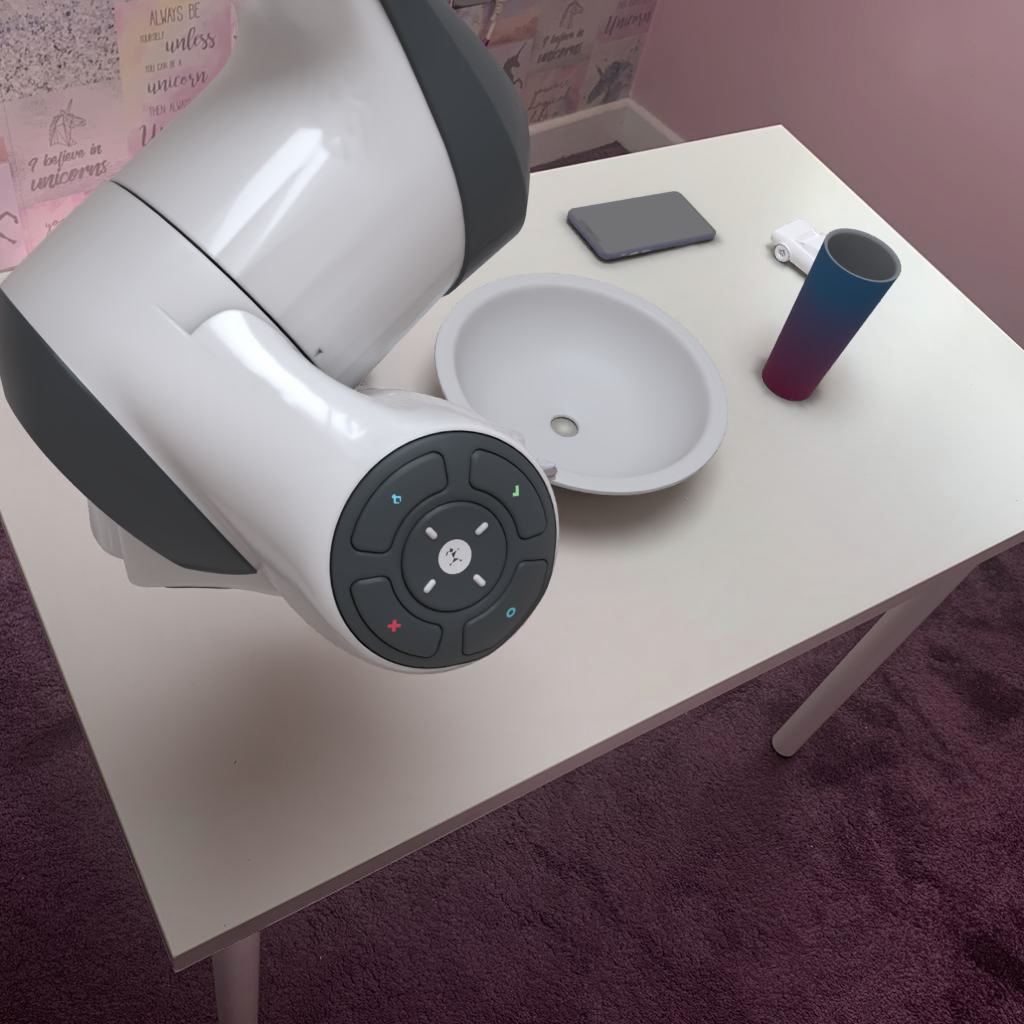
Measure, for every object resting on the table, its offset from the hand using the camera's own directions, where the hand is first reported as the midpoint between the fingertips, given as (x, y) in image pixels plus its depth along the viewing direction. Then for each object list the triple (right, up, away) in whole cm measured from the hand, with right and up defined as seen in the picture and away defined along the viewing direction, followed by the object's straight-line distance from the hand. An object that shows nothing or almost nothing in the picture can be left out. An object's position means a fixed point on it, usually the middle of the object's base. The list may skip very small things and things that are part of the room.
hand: (290, 462), depth 57 cm
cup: (+38, +9, +42) cm, 57 cm away
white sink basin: (+16, +4, +32) cm, 36 cm away
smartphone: (+25, +26, +52) cm, 63 cm away
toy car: (+44, +22, +54) cm, 73 cm away
